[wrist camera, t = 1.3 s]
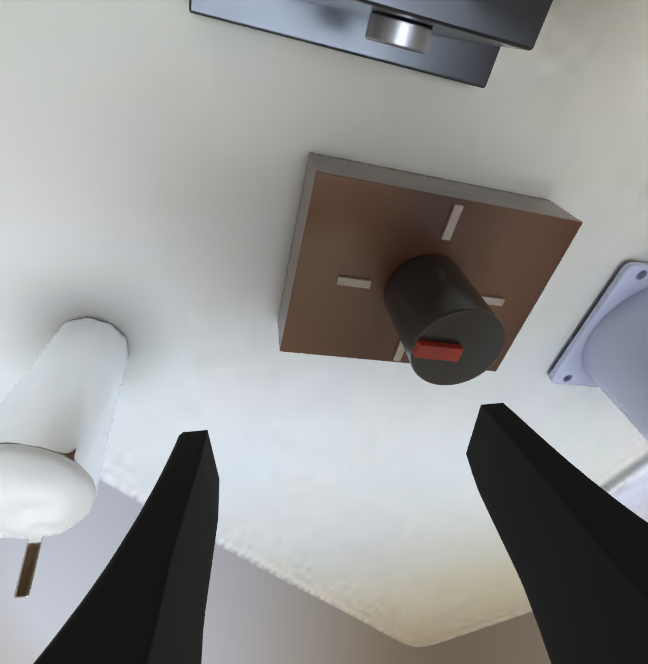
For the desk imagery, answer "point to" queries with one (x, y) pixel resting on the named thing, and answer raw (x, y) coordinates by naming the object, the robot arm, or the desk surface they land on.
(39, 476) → the milkshake
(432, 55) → the bracket
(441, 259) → the dial
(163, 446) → the desk surface
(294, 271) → the console
